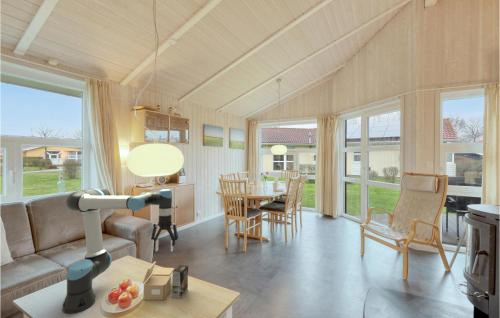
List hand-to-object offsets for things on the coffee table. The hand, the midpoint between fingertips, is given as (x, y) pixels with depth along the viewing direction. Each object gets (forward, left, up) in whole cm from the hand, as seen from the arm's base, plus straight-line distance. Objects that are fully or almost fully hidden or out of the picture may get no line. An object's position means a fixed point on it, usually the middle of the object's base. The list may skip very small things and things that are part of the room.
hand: (164, 250), depth 141 cm
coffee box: (+10, +1, -28) cm, 29 cm away
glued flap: (-11, 0, -18) cm, 21 cm away
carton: (-4, +4, -27) cm, 28 cm away
